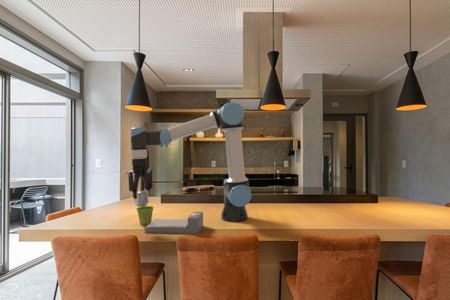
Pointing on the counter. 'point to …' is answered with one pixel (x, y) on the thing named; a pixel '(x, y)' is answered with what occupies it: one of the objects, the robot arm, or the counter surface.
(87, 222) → the counter surface
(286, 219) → the counter surface
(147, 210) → the plant pot
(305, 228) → the counter surface
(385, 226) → the counter surface
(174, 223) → the pan
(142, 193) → the spacer
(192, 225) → the scale
